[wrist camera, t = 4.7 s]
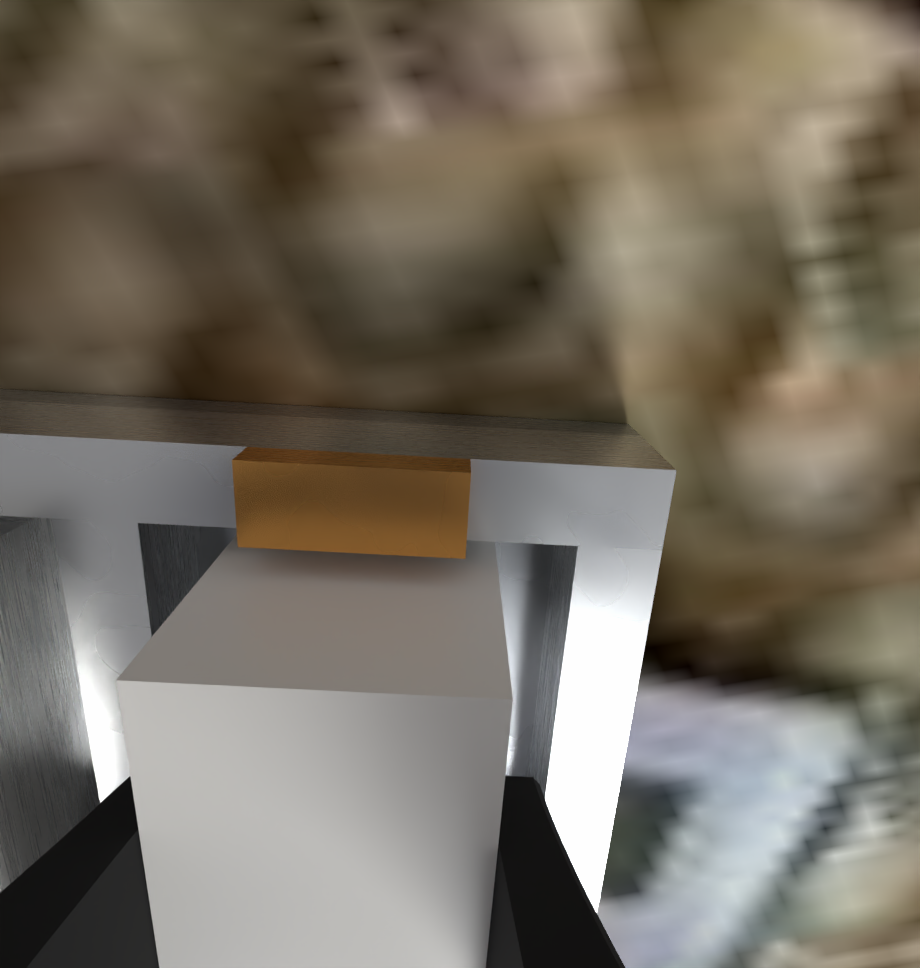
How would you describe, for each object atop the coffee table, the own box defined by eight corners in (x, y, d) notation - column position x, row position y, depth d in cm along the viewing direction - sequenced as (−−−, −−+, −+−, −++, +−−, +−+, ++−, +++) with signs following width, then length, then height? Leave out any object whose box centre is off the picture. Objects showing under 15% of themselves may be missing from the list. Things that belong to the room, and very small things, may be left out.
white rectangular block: (469, 839, 12) (472, 1095, 9) (264, 830, 12) (176, 1083, 8) (494, 537, 10) (513, 700, 6) (245, 523, 10) (116, 680, 6)
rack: (564, 851, 14) (612, 1125, 10) (-149, 819, 14) (-441, 1085, 9) (628, 423, 11) (746, 536, 6) (-303, 372, 11) (-864, 451, 6)
